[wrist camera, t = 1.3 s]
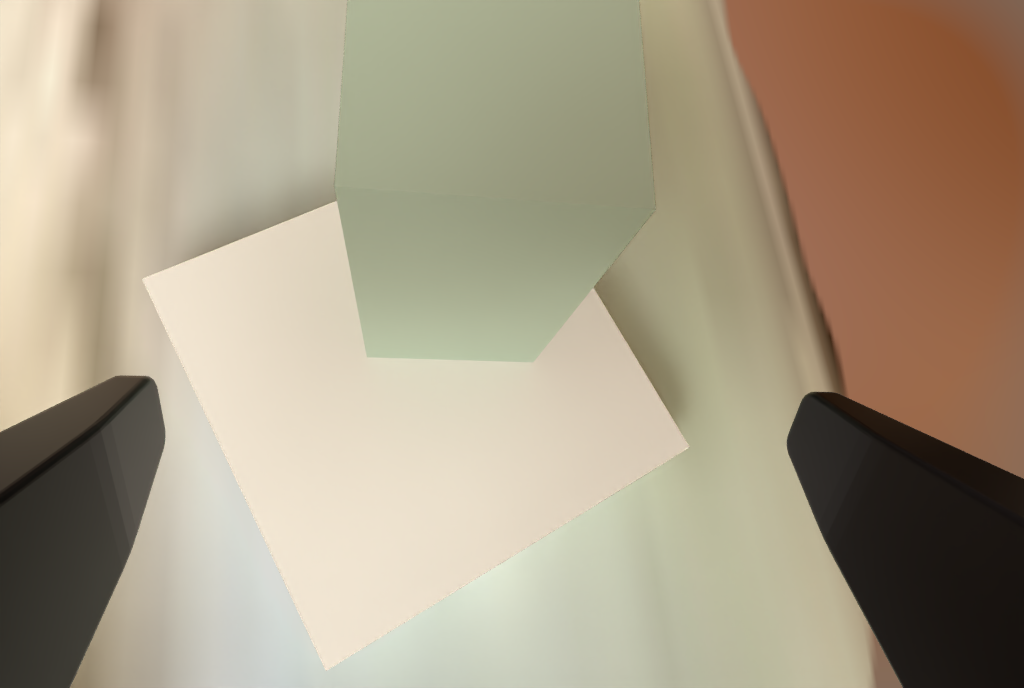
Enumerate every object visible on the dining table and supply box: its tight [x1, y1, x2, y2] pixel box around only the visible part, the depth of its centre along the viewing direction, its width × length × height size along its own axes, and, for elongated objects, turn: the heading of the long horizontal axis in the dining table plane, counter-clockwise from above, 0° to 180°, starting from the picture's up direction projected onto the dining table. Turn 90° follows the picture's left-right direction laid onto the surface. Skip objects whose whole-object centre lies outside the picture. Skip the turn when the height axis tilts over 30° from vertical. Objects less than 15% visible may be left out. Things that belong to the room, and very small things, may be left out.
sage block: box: [334, 0, 656, 362], centre depth 15 cm, size 5×5×10 cm
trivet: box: [142, 201, 690, 671], centre depth 20 cm, size 12×12×2 cm
